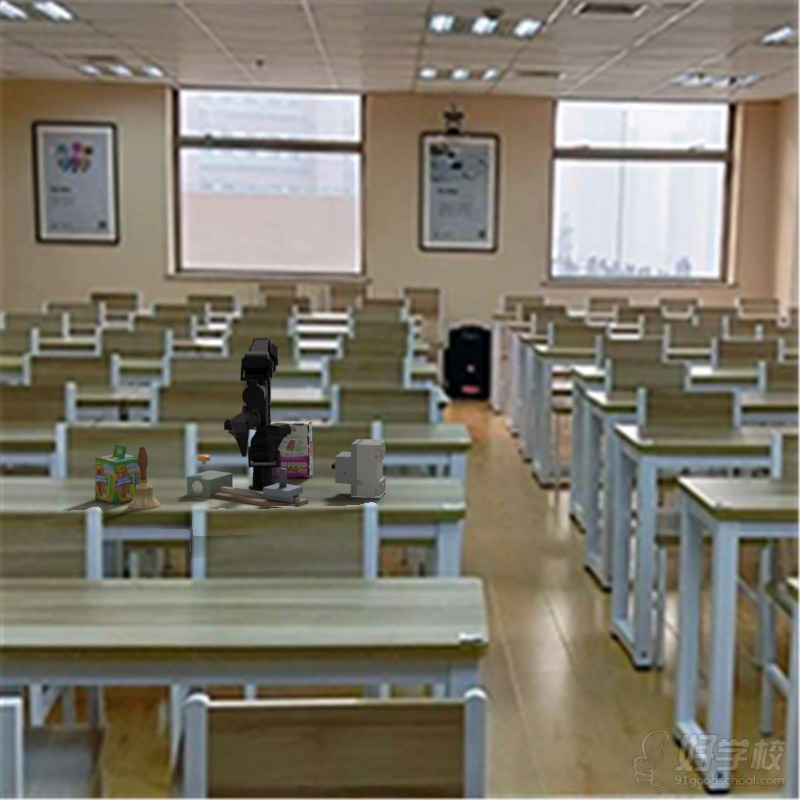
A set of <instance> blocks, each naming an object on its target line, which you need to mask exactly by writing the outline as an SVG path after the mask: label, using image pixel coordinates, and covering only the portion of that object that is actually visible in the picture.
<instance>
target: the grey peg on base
mask: <svg viewBox="0 0 800 800" xmlns="http://www.w3.org/2000/svg"><path fill="white" fill-rule="evenodd" d="M287 480H288V478H287V468H279V477H278V481H279V482H277V483H275V484H273V485H270V486H267V487H264V488H263V490H262V492H263V494H265V495H266V499H271V500H278V501H284V502H293V496H294V497H300V498H301V495H302V494H303V493H304V486H303V485H297V484H289V483H288V481H287Z"/></svg>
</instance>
